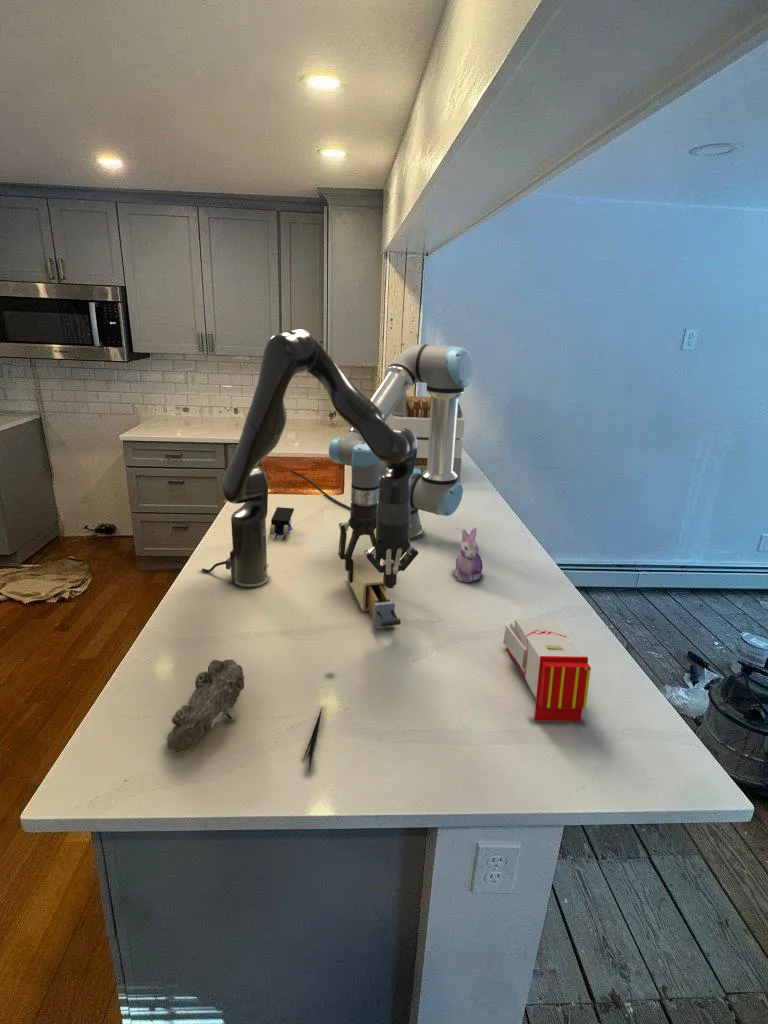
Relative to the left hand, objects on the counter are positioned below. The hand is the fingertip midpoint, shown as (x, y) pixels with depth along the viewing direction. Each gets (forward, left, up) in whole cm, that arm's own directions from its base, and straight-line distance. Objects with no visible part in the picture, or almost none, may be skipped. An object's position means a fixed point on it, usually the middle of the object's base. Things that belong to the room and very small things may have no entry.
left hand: (389, 586), depth 133 cm
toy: (+35, -9, -13) cm, 39 cm away
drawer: (-4, +7, -12) cm, 15 cm away
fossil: (-27, -36, -13) cm, 48 cm away
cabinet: (-9, +19, -13) cm, 25 cm away
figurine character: (-46, +54, -13) cm, 72 cm away
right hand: (-11, +23, -11) cm, 28 cm away
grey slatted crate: (-9, +146, -13) cm, 147 cm away
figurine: (+18, +38, -13) cm, 44 cm away
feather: (-7, -33, -13) cm, 36 cm away
